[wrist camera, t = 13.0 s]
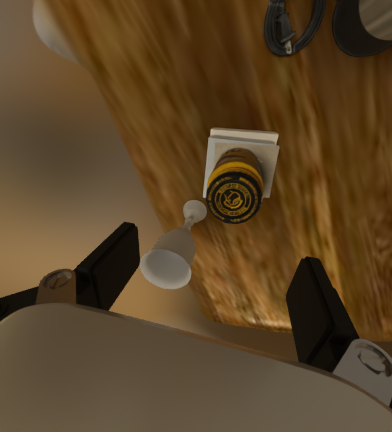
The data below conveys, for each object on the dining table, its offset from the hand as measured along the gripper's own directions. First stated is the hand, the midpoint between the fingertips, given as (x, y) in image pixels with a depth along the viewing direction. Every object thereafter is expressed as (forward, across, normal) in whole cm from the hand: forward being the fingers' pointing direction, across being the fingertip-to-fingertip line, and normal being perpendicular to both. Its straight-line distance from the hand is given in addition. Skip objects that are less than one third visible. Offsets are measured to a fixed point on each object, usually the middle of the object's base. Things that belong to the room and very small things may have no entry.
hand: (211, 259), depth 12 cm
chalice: (+28, +6, +12) cm, 31 cm away
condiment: (+21, -2, 0) cm, 21 cm away
